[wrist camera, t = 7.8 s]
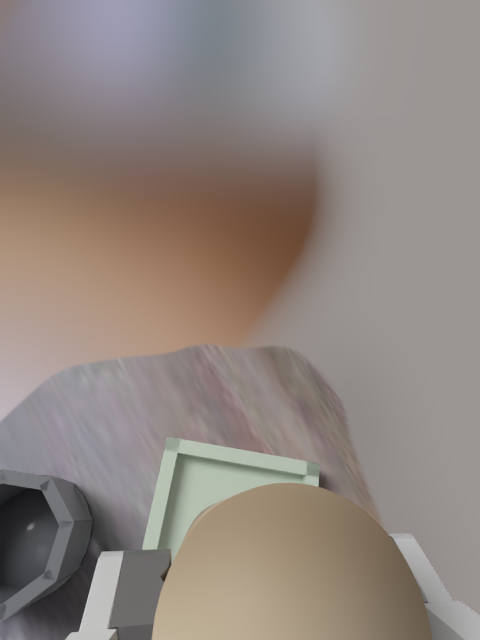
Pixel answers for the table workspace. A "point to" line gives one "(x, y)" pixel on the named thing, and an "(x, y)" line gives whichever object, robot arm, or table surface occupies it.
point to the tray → (210, 484)
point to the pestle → (289, 573)
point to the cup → (39, 537)
